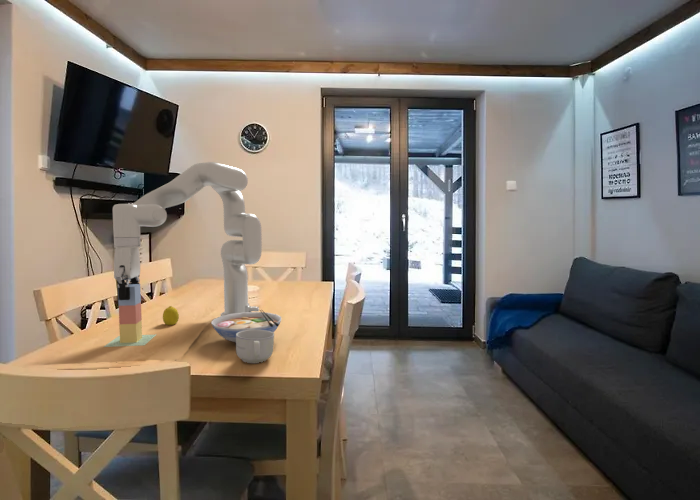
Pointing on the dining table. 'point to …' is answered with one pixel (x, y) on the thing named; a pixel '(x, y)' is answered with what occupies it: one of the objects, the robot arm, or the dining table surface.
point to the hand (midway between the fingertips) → (129, 296)
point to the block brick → (130, 314)
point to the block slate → (132, 296)
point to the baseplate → (142, 341)
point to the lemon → (170, 316)
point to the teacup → (254, 345)
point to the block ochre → (130, 332)
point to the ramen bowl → (245, 323)
